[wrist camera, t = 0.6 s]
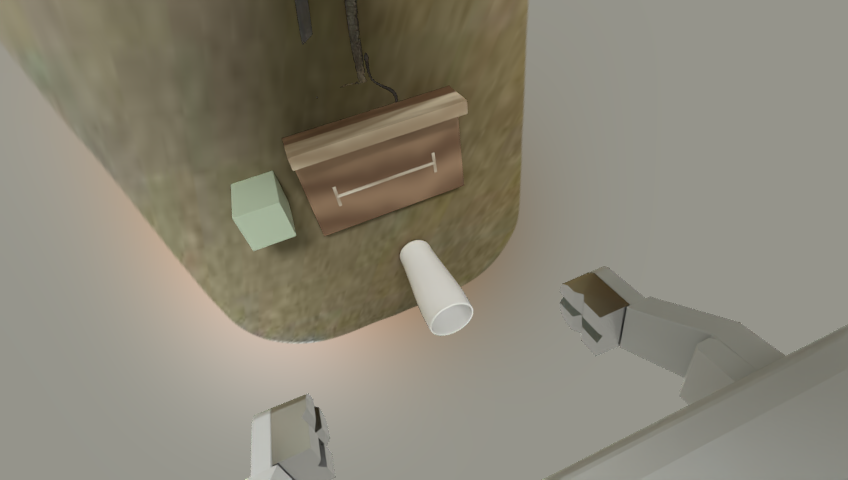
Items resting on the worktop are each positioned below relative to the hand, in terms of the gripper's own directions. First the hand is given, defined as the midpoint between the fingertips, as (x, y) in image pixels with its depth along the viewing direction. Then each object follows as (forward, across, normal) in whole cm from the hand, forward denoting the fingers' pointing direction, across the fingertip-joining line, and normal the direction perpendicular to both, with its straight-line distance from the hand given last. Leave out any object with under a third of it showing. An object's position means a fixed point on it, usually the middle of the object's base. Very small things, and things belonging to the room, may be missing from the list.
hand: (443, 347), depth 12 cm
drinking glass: (+42, -6, +30) cm, 52 cm away
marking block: (+40, +10, +11) cm, 43 cm away
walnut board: (+40, -5, +12) cm, 42 cm away
